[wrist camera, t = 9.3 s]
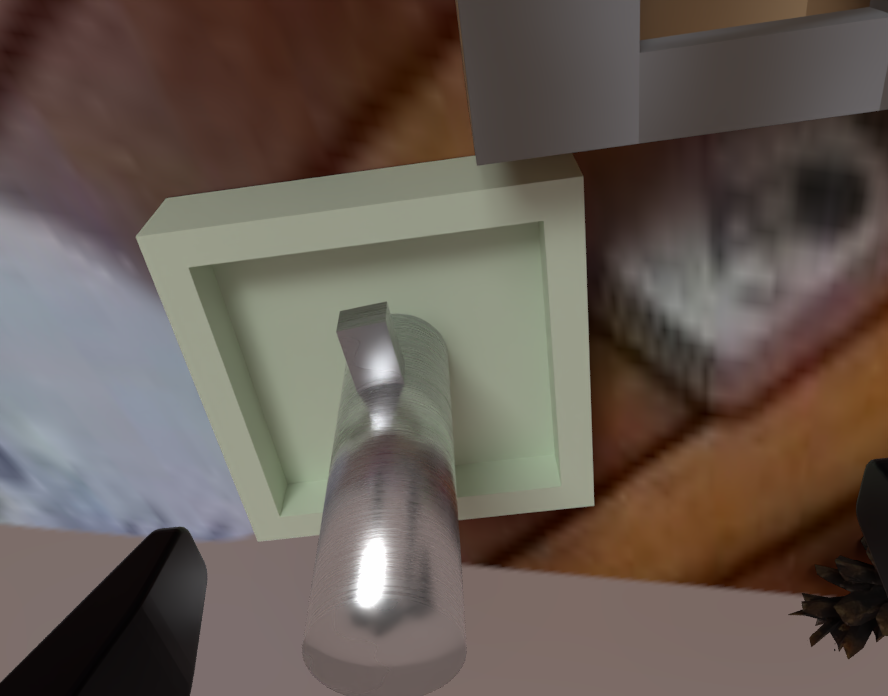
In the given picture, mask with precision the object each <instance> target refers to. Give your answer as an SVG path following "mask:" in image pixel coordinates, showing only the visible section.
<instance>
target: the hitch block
mask: <svg viewBox="0 0 888 696" xmlns="http://www.w3.org/2000/svg"><path fill="white" fill-rule="evenodd" d="M455 1H456V10H457V18H458V27H459V36H460V44H461V53H462V61H463V70H464V78H465V87H466V95H467V103H468V109H469V116H470V123H471V129H472V136H473V143H474V149H475V156H476V163H477V166H479V165H487V164H494V163H501V162H508V161H516V160H523V159H530V158H538V157H545V156H552V155H559V154H567V153H574V152H581V151H589V150H596V149H603V148H610V147H618V146H625V145H632V144H640V143H647V142H654V141H661V140H669V139H676V138H683V137H691V136H698V135H705V134H712V133H720V132H727V131H734V130H742V129H749V128H756V127H764V126H771V125H778V124H785V123H793V122H800V121H807V120H815V119H822V118H829V117H836V116H844V115H851V114H858V113H866V112H873V111H880V110H887V109H888V0H455Z"/></svg>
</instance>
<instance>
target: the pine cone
mask: <svg viewBox="0 0 888 696" xmlns="http://www.w3.org/2000/svg"><path fill="white" fill-rule="evenodd" d="M861 543H862V545H863V546H864V548H865V550H866V553H867V555H868V557H869V559H870V560H871V562H872V564H873V565H870V564H867V563H864V562H861V561H857V560H852V559H849V558H846V557H843V556H841V555H840V556H839V557H838V558H837V559H835V562H836V565H837V568H838V569H834V568H829V567H824V566H820V565H815V568H816V572H817V574H818V575H819V576H821V577H822V578H824V579H825V580H827V581H828V582H831V583H833V584H835V585H837V586H839V587H841V588H844V589H846V590H848V591H850V592H851V593H850V594H848V595H846V596H842V597H832V598H828V597H822V596H816V595H810V594H805V593H802V595H803V597H804V600H805V601H803V602H802V608H803V610H800V611H797V612H794V613H792V614H789V615H806V616H810V617H813V618H817V622H816V625H820V624H823V625H822V626H821V627H820V628H819V629H818V630H817V631H816V632H815V633H813V634H812V635H811V637H810V643H811V647H812V646H813V645H815V644H816V643H817V642H818V641H820V640H821V639H822V638H823V637H824V636H825V635H827V634H828V633H829V632H830V633H831V635H832V636H833V638H834V640H835V641H836V643H837V645H838V649H839V651H840V650H841V648H842V647H844V649H845V652H846V655H847V658H848V659H850V658H851V657H852V656H854V655H855V654H856V653H857V652H859V651H860V650H861V649H862V648H863V647H864V645H865V644H866V642H867V640H868V638H869V636H870V634H871V632H872V631H874V634H875V636H876V642H878V641H879V640H880V639H881V638H882V637H884V636H888V596H887V593H886V591H885V588H884V586H883V583H882V581H881V578H880V576H879V573H878V571H877V568H876V565H875V563H874V560H873V558H872V555H871V553H870V550H869V548H868V545H867V543H866V540H865V537H863V538H862V540H861ZM834 651H835V649H834Z"/></svg>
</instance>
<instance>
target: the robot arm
mask: <svg viewBox="0 0 888 696" xmlns="http://www.w3.org/2000/svg"><path fill="white" fill-rule="evenodd" d="M856 513H857V518H858V522H859V525H860V527H861V530H862V532H863V535H864V537H865V540H866V543H867V545H868V548H869V550H870V553H871V555H872V558H873V560H874V563H875V565H876V568H877V571H878V573H879V576H880V578H881V581H882V583H883V586H884V588H885V591H886V593H887V596H888V458H882V459H874V460H871V461H870V462H869V463H868V464H867V465H866V468H865V471H864V475H863V479H862V483H861V487H860V491H859V495H858V499H857V504H856ZM206 586H207V569H206V565H205V562H204V560H203V558H202V556H201V554H200V552H199V551H198V548H197V546H196V544H195V542H194V540H193V538H192V536H191V534H190V533H189V531H188V530H187V529H186V528H184V527H172V528H162V529H157V530H155V531H153V532H152V533H150V534H149V535H148V536H147V537H146V538H145V539H144V540H143V541H142V542H141V544H139V545H138V546H137V547H136V548H135V549H134V550H133V551H132V552H131V553H130V554H129V555H128V556H127V557H126V558H125V559H124V560H123V561H122V562H121V563H120V564H119V565H118V566H117V567H116V568H115V569H114V570H113V571H112V572H111V573H110V574H109V575H108V576H107V577H106V578H105V579H104V580H103V581H102V582H101V583H100V584H99V585H98V586H97V587H96V588H95V589H94V590H93V591H92V592H91V593H90V594H89V595H88V596H87V597H86V598H85V599H84V600H83V601H82V602H81V603H80V604H79V605H78V606H77V607H76V608H75V609H74V610H73V611H72V612H71V613H70V614H69V615H68V616H67V617H66V618H65V619H64V620H63V621H62V622H61V623H60V624H59V625H58V626H57V627H56V628H55V629H54V630H53V631H52V632H51V633H50V634H49V635H48V636H47V637H46V638H45V639H44V640H43V641H42V642H41V643H40V644H39V645H38V646H37V647H36V648H35V649H34V650H33V651H32V652H31V653H30V654H29V655H28V656H27V657H26V658H25V659H24V660H23V661H22V662H21V663H20V664H19V665H18V666H17V667H16V668H15V669H14V670H13V671H12V672H11V673H10V674H9V675H8V676H7V677H6V678H5V679H4V680H3V681H2V682H1V683H0V696H190V692H191V687H192V682H193V676H194V670H195V662H196V656H197V649H198V642H199V635H200V628H201V621H202V614H203V607H204V600H205V592H206Z"/></svg>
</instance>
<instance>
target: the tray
mask: <svg viewBox="0 0 888 696" xmlns="http://www.w3.org/2000/svg"><path fill="white" fill-rule="evenodd" d="M136 239H137V242H138V244H139V246H140V249H141V251H142V254H143V256H144V259H145V261H146V264H147V266H148V269H149V271H150V274H151V276H152V279H153V281H154V284H155V286H156V289H157V291H158V294H159V296H160V299H161V301H162V304H163V306H164V309H165V311H166V314H167V316H168V319H169V321H170V324H171V326H172V329H173V331H174V334H175V336H176V339H177V341H178V344H179V346H180V349H181V351H182V354H183V356H184V359H185V361H186V364H187V366H188V369H189V371H190V374H191V376H192V379H193V381H194V384H195V386H196V389H197V391H198V394H199V396H200V399H201V401H202V404H203V406H204V408H205V411H206V413H207V416H208V418H209V421H210V423H211V426H212V428H213V431H214V433H215V436H216V438H217V441H218V443H219V446H220V448H221V451H222V453H223V456H224V458H225V461H226V463H227V466H228V468H229V471H230V473H231V476H232V478H233V481H234V483H235V486H236V488H237V491H238V493H239V496H240V498H241V501H242V503H243V506H244V508H245V511H246V513H247V516H248V518H249V521H250V523H251V526H252V528H253V531H254V533H255V536H256V538H257V540H258V542H259V541H268V540H278V539H287V538H296V537H305V536H315V535H319V534H320V528H321V521H322V515H323V508H324V502H325V495H326V489H327V482H328V476H329V469H330V462H331V456H332V449H333V443H334V436H335V430H336V423H337V417H338V410H339V404H340V397H341V391H342V384H343V378H344V371H345V365H346V359H345V356H344V353H343V350H342V347H341V344H340V342H339V339H338V336H337V333H336V330H337V324H338V319H339V313H340V311H343V310H348V309H353V308H357V307H362V306H367V305H372V304H376V303H381V302H386V301H387V303H388V307H389V310H390V313H391V314H407V315H412V316H415V317H418V318H420V319H423V320H425V321H426V322H428V323H430V324H431V325H432V326H433V327H435V328H436V329H437V331H438V332H439V333H440V334H441V336H442V337H443V339H444V341H445V343H446V346H447V351H448V363H449V378H450V394H451V410H452V426H453V442H454V458H455V474H456V489H457V505H458V520H465V519H474V518H484V517H493V516H502V515H512V514H521V513H531V512H540V511H549V510H559V509H568V508H577V507H587V506H594V481H593V451H592V420H591V390H590V360H589V330H588V299H587V269H586V239H585V209H584V178H583V174H582V172H581V170H580V168H579V166H578V164H577V162H576V160H575V158H574V156H573V154H572V153H567V154H559V155H552V156H545V157H538V158H530V159H523V160H516V161H508V162H501V163H494V164H487V165H479V166H477V163H476V156H469V157H461V158H454V159H447V160H440V161H432V162H425V163H418V164H411V165H403V166H396V167H389V168H382V169H375V170H367V171H360V172H353V173H346V174H338V175H331V176H324V177H317V178H309V179H302V180H295V181H288V182H280V183H273V184H266V185H259V186H251V187H244V188H237V189H230V190H222V191H215V192H208V193H201V194H193V195H186V196H179V197H172V198H166V199H165V200H164V202H163V203H162V204H161V205H160V207H159V208H158V209H157V211H156V212H155V213H154V214H153V216H152V217H151V218H150V219H149V221H148V222H147V223H146V224H145V226H144V227H143V228H142V229H141V231H140V232H139V233H138V234H137V236H136Z"/></svg>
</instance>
